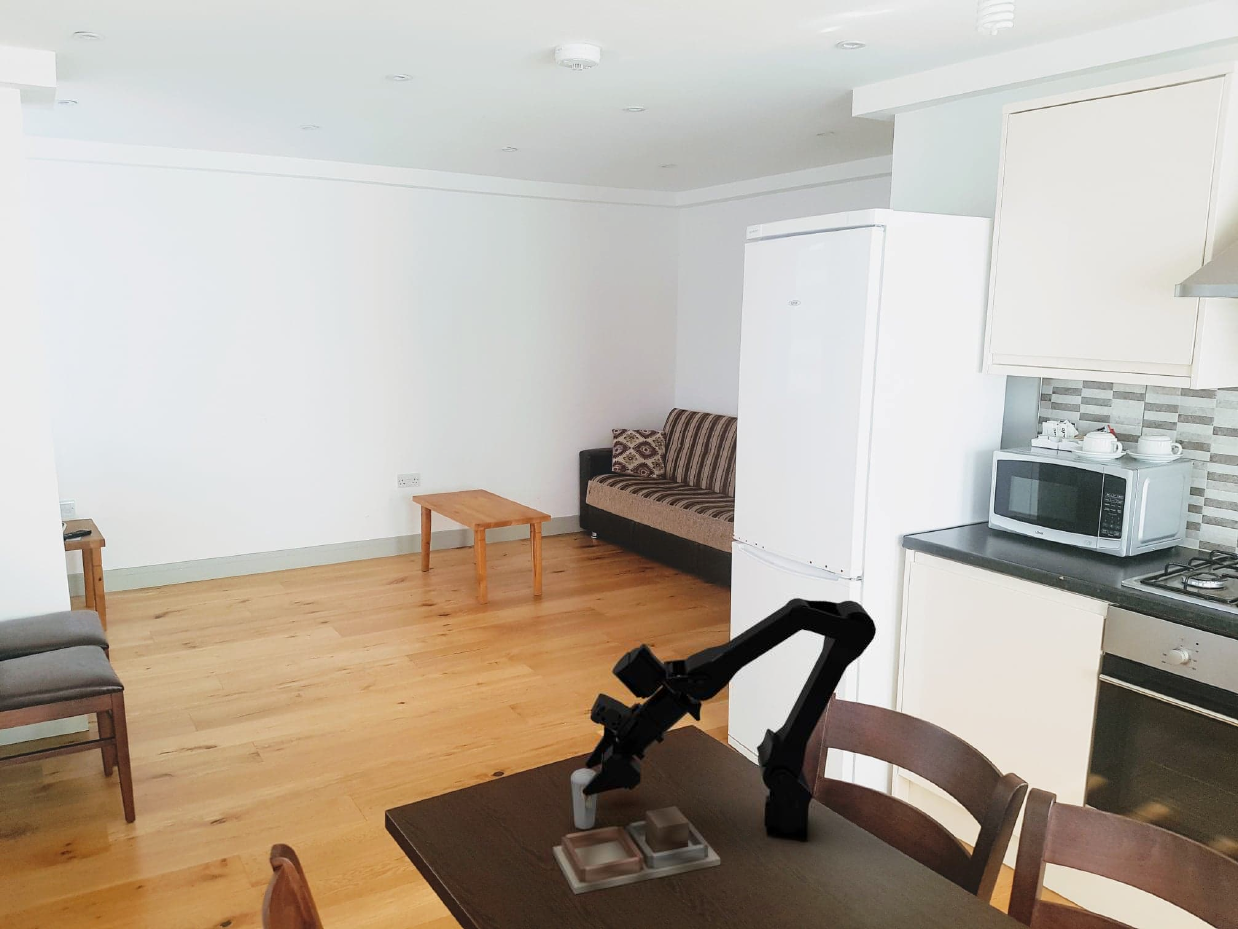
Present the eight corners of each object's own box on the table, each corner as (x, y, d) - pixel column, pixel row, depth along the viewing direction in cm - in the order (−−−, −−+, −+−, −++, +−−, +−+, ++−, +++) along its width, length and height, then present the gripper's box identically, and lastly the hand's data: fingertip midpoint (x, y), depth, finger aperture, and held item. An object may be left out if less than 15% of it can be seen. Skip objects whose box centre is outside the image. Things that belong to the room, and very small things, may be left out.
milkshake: (607, 828, 150) (608, 769, 149) (575, 834, 148) (576, 774, 147) (597, 814, 154) (598, 757, 153) (566, 820, 152) (567, 762, 151)
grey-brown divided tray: (689, 828, 150) (690, 793, 150) (720, 864, 140) (721, 827, 139) (552, 853, 143) (553, 816, 142) (574, 894, 132) (575, 855, 131)
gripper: (621, 660, 157) (555, 720, 158) (620, 705, 138) (545, 772, 140) (666, 706, 158) (600, 765, 160) (671, 756, 139) (596, 823, 141)
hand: (585, 779), depth 150 cm, fingers open, 9 cm apart
